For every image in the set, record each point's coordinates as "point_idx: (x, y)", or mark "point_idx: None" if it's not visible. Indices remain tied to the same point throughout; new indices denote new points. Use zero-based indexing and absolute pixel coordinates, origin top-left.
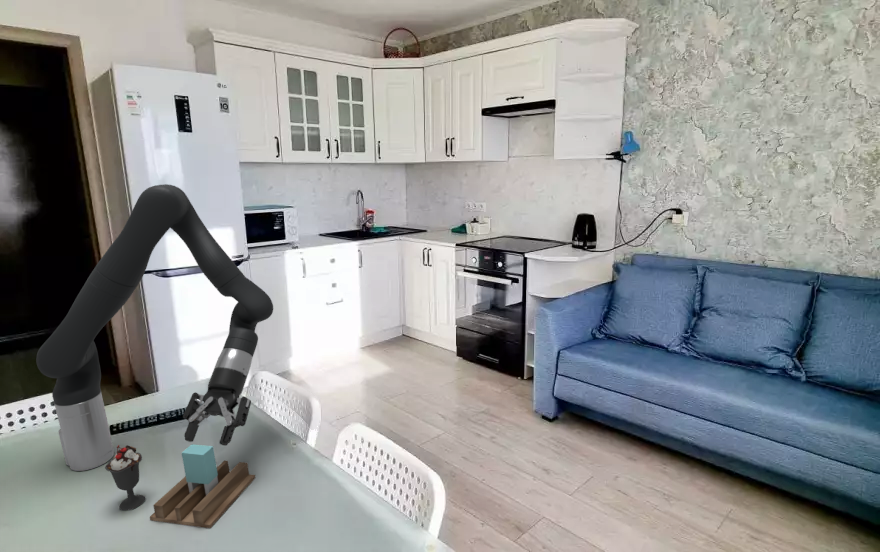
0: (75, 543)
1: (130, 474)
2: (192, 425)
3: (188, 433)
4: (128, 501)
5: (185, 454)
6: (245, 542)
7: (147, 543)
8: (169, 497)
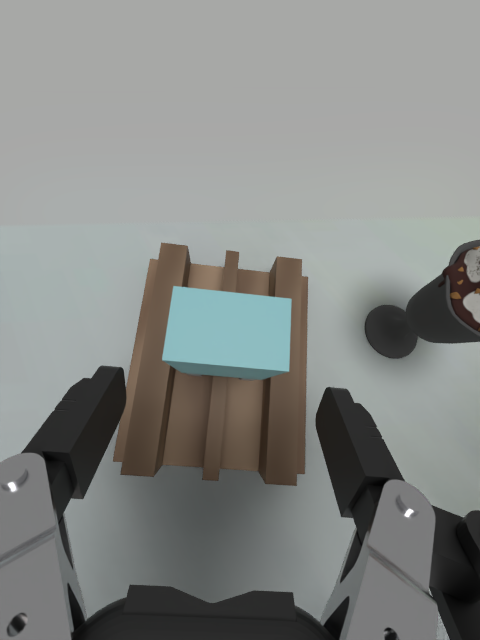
0: (400, 220)
1: (433, 284)
2: (356, 455)
3: (345, 410)
4: (396, 318)
5: (270, 299)
6: (52, 229)
7: (262, 223)
8: (279, 287)
